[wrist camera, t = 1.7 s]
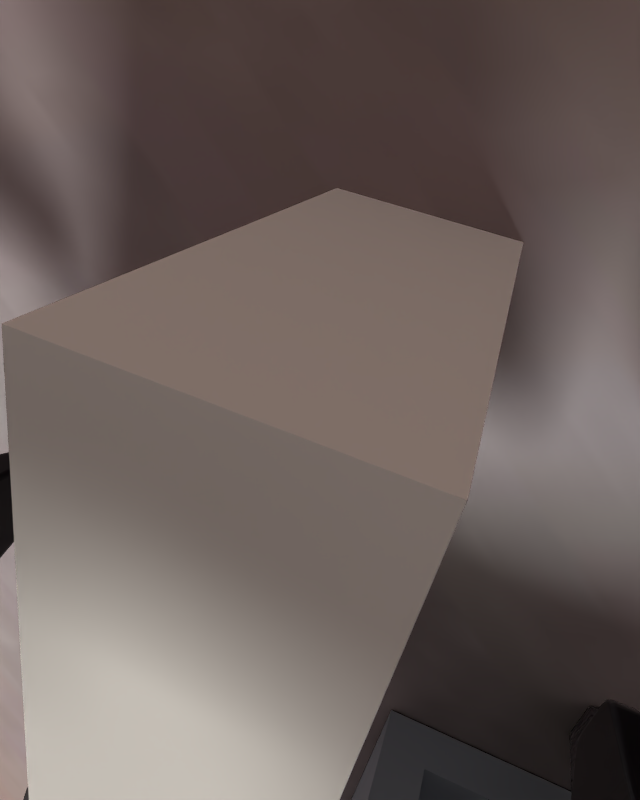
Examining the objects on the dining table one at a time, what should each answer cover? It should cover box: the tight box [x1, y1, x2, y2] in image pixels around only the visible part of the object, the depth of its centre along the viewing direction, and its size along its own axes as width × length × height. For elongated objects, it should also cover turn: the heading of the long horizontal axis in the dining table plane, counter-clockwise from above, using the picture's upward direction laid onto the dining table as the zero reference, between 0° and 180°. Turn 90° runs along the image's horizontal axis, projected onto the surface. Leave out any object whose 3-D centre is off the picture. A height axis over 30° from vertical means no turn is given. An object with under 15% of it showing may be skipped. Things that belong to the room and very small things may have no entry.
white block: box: [2, 188, 523, 800], centre depth 9 cm, size 10×4×7 cm, turn 170°
